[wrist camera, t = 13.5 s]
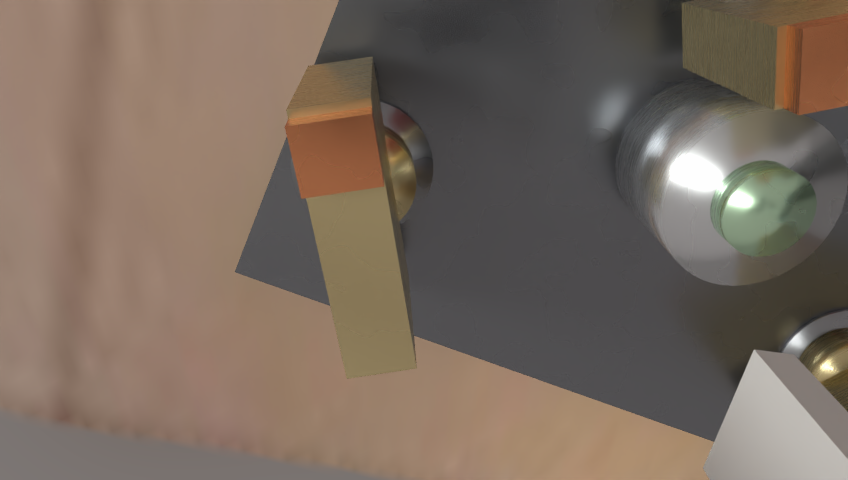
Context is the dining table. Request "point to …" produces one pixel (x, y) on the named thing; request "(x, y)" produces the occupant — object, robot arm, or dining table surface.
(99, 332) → the dining table surface
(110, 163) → the dining table surface
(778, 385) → the robot arm
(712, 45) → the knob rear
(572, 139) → the levelling plate
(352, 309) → the knob
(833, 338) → the knob
